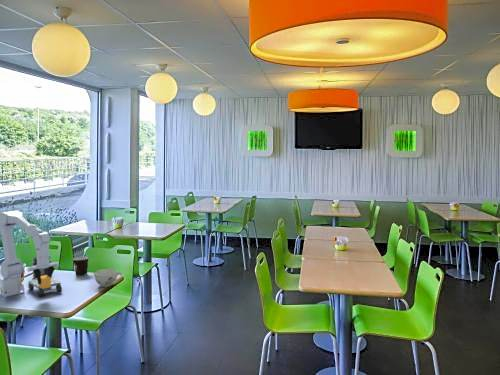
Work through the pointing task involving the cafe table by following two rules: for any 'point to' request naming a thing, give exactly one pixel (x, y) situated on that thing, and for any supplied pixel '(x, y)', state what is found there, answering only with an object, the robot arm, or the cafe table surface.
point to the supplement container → (43, 271)
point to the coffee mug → (81, 265)
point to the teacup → (106, 277)
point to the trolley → (40, 290)
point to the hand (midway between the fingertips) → (44, 282)
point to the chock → (45, 282)
